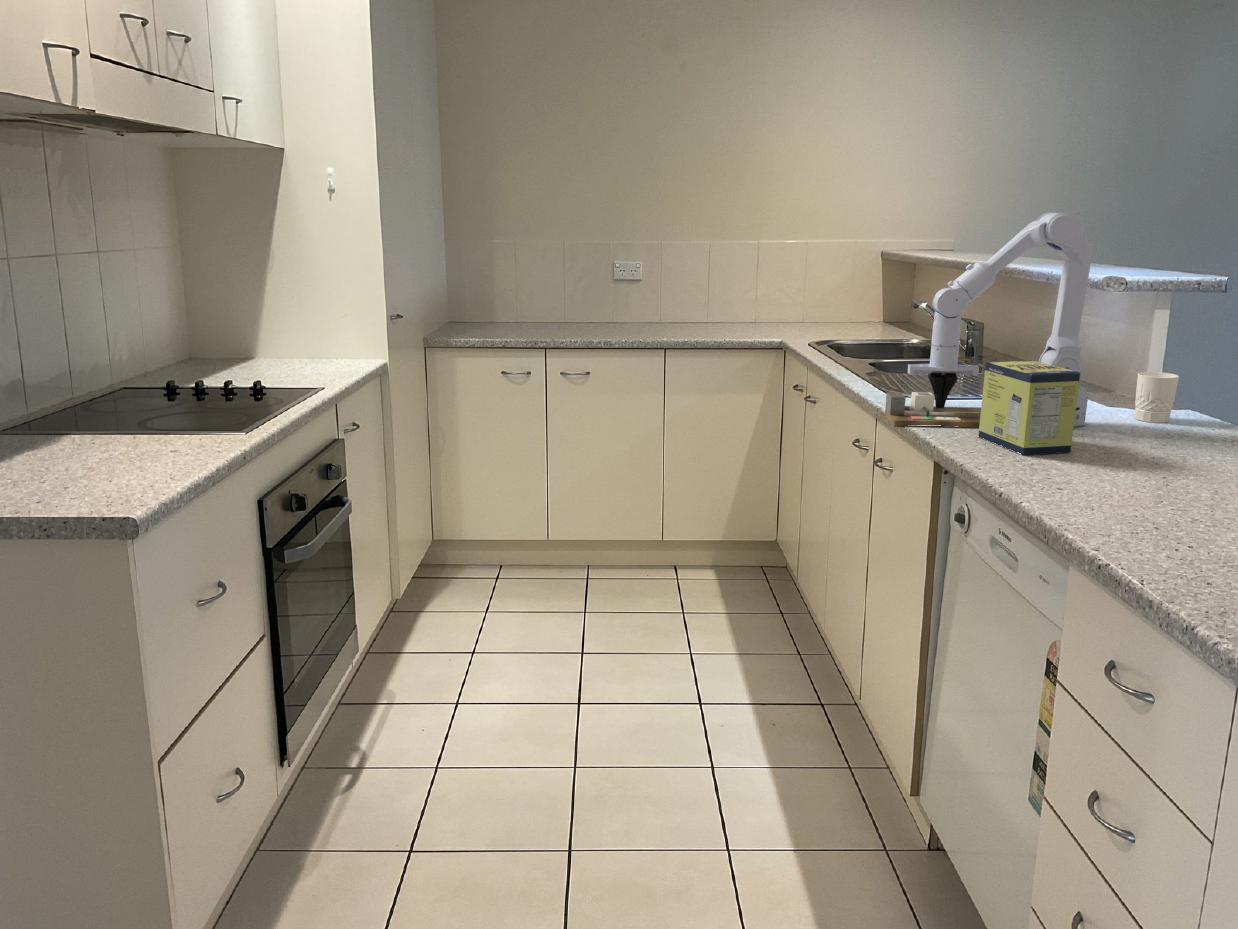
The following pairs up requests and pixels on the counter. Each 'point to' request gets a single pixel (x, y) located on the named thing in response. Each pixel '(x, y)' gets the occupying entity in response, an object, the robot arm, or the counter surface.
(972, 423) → the gauge bed
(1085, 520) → the counter surface
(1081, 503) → the counter surface
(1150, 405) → the white cup
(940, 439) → the counter surface
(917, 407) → the gauge carriage
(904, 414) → the anvil and rails
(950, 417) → the gauge scale
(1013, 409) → the protein box
